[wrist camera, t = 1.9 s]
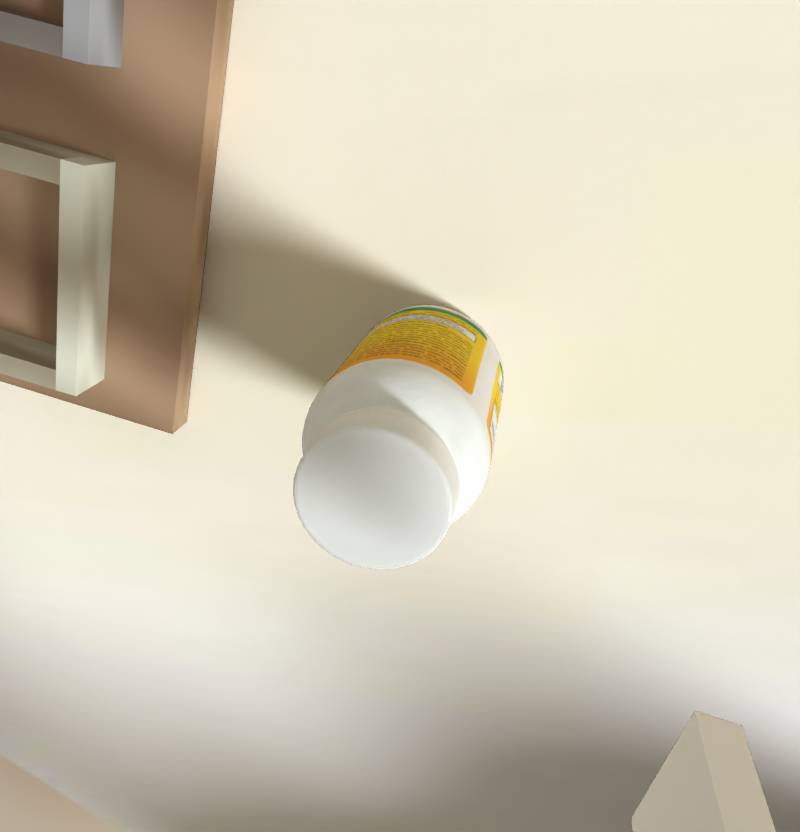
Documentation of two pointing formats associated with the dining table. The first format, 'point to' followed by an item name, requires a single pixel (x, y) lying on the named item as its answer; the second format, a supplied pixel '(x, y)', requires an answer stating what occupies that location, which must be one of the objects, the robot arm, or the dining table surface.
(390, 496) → the supplement bottle
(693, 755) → the robot arm
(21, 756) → the dining table surface
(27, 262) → the socket board
